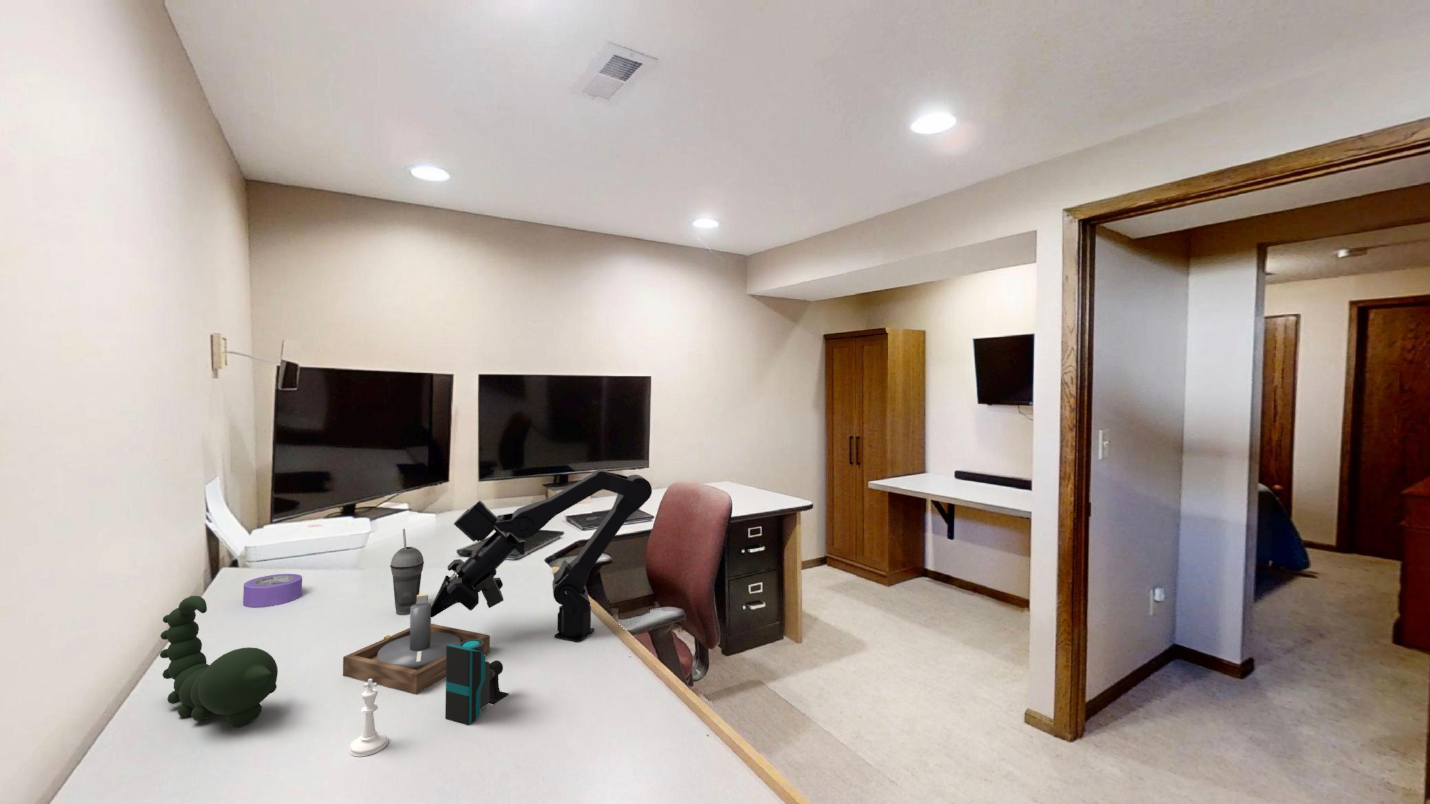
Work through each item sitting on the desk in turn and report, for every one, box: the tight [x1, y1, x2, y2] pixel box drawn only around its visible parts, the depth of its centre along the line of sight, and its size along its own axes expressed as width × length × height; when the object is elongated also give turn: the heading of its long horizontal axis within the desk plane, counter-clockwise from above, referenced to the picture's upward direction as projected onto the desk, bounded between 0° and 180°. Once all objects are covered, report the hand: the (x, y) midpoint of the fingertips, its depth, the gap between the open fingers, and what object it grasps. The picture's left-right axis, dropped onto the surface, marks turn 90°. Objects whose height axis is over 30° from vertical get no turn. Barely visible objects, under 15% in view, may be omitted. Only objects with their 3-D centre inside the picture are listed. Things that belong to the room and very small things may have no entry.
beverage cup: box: [389, 528, 425, 616], centre depth 137 cm, size 7×7×20 cm
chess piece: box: [348, 679, 389, 758], centre depth 84 cm, size 5×5×10 cm
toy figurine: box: [159, 595, 279, 728], centre depth 92 cm, size 10×19×26 cm
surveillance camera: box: [444, 639, 509, 726], centre depth 96 cm, size 6×12×10 cm
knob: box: [377, 593, 460, 670], centre depth 111 cm, size 14×14×10 cm
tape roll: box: [242, 573, 303, 608], centre depth 144 cm, size 12×12×5 cm
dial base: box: [342, 623, 491, 695], centre depth 111 cm, size 18×18×4 cm
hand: (430, 615), depth 115 cm, fingers closed
